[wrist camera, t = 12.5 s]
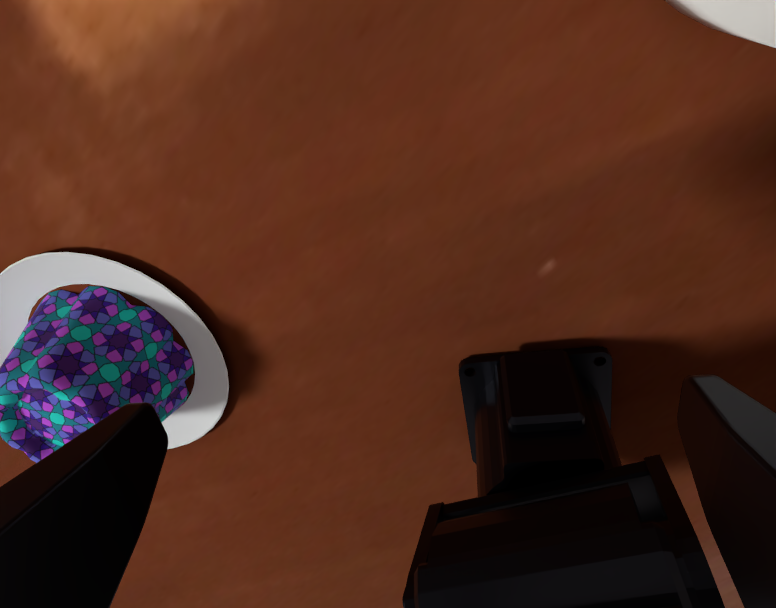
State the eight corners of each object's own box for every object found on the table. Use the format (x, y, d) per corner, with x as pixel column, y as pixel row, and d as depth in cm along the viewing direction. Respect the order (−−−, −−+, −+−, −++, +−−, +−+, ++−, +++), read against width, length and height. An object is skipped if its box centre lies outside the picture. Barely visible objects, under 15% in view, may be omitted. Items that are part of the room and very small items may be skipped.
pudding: (-13, 204, 23) (-122, 262, 19) (256, 299, 25) (213, 374, 20) (-1, 397, 30) (-81, 474, 25) (212, 465, 31) (172, 550, 27)
